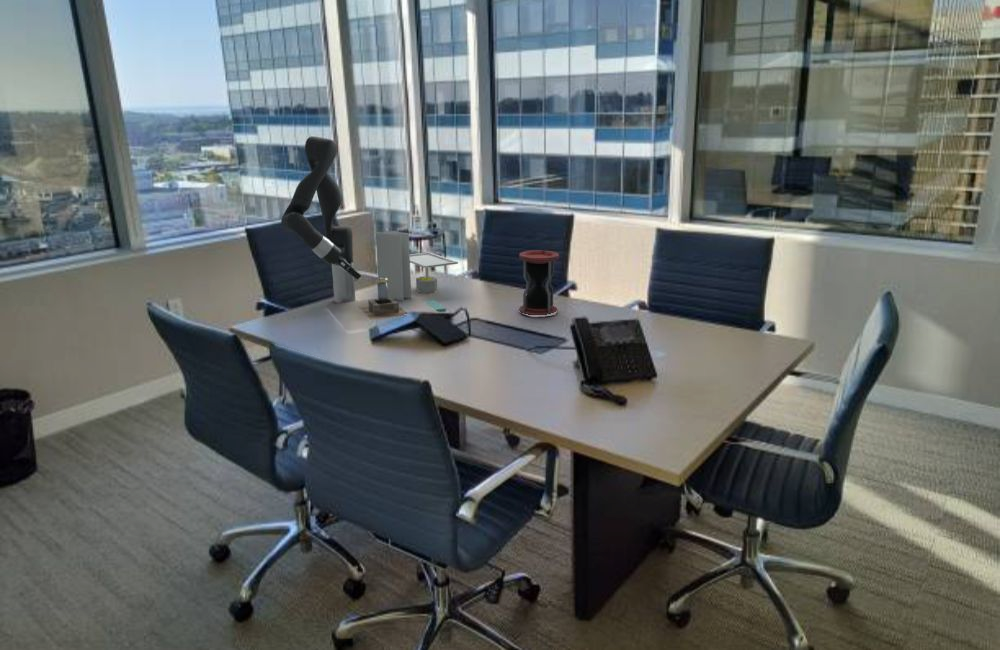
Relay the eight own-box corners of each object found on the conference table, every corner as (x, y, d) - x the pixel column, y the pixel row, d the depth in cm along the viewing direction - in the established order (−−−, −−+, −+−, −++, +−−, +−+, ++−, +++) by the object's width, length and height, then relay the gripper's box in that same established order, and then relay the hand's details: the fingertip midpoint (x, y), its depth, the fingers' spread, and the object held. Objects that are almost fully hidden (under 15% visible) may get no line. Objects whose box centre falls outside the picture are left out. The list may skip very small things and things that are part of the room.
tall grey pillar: (411, 300, 307) (408, 233, 298) (403, 303, 302) (400, 235, 293) (387, 295, 314) (384, 230, 305) (379, 298, 310) (375, 232, 301)
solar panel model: (458, 293, 318) (457, 261, 314) (425, 298, 309) (424, 266, 305) (429, 281, 340) (429, 251, 336) (398, 286, 331) (397, 255, 326)
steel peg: (377, 310, 287) (375, 277, 283) (387, 308, 289) (385, 276, 285) (380, 312, 283) (378, 279, 279) (390, 311, 285) (388, 278, 281)
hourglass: (565, 313, 286) (567, 254, 279) (534, 320, 277) (535, 259, 270) (541, 305, 299) (542, 248, 291) (511, 311, 290) (511, 252, 283)
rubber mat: (408, 305, 298) (408, 303, 297) (434, 302, 303) (434, 300, 302) (419, 314, 286) (418, 311, 285) (446, 310, 291) (445, 308, 290)
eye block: (359, 309, 292) (358, 298, 290) (395, 305, 298) (394, 293, 297) (371, 322, 275) (370, 309, 273) (409, 317, 281) (409, 305, 280)
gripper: (336, 245, 263) (367, 272, 271) (328, 239, 276) (358, 265, 284) (323, 260, 263) (355, 286, 271) (316, 253, 275) (346, 279, 283)
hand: (356, 275), depth 277 cm, fingers open, 8 cm apart
